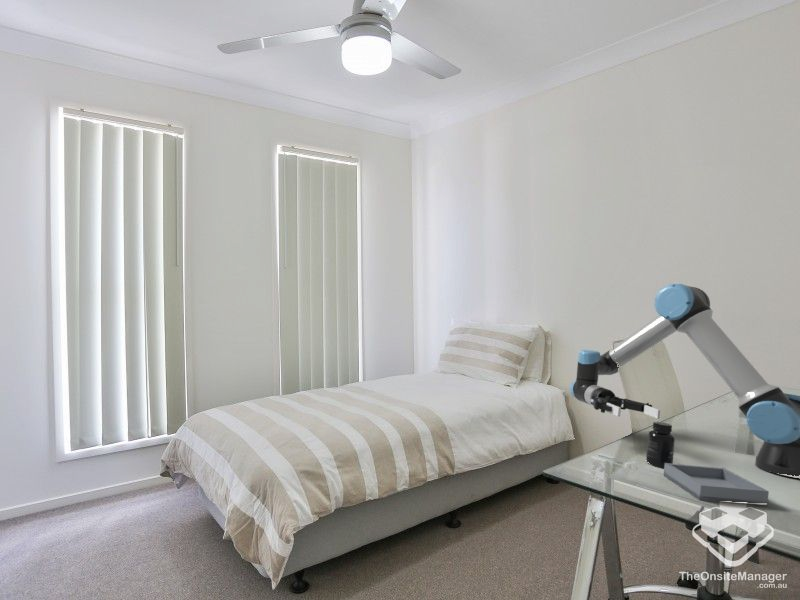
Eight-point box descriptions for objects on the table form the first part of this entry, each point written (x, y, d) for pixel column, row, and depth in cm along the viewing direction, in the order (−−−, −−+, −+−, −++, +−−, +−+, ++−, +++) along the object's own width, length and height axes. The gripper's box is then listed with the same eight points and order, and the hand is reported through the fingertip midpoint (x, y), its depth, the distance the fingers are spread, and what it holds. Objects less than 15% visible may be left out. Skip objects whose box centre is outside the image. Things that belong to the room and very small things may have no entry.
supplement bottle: (676, 470, 137) (679, 428, 137) (650, 466, 138) (653, 424, 138) (667, 462, 143) (671, 422, 143) (643, 459, 145) (646, 419, 145)
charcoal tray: (723, 480, 131) (724, 468, 131) (767, 506, 115) (768, 491, 115) (663, 475, 131) (664, 462, 131) (699, 500, 115) (700, 485, 115)
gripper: (631, 410, 174) (673, 427, 153) (566, 406, 170) (601, 423, 149) (633, 389, 174) (676, 403, 153) (568, 385, 170) (603, 399, 149)
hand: (639, 413), depth 151 cm, fingers open, 13 cm apart
